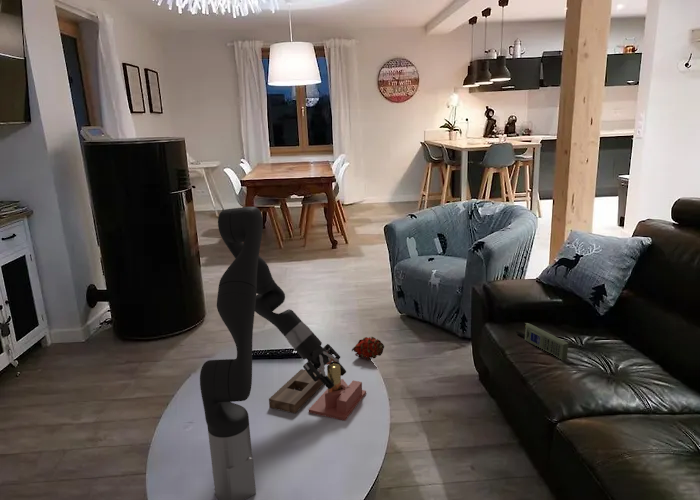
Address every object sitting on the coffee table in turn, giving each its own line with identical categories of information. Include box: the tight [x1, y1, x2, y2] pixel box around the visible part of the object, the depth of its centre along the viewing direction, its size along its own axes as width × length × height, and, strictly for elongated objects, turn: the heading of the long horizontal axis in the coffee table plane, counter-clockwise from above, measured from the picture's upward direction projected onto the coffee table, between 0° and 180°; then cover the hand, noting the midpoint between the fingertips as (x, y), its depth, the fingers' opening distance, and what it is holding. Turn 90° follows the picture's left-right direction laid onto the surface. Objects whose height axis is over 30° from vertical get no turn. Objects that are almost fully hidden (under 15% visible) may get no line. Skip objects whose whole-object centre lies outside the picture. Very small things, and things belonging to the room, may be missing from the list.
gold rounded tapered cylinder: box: [326, 364, 342, 393], centre depth 152 cm, size 4×4×11 cm
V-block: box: [308, 378, 367, 422], centre depth 153 cm, size 12×16×5 cm
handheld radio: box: [515, 322, 569, 361], centre depth 186 cm, size 7×3×25 cm
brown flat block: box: [268, 368, 324, 414], centre depth 159 cm, size 9×20×3 cm, turn 156°
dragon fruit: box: [351, 336, 385, 361], centre depth 181 cm, size 8×8×12 cm
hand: (338, 380), depth 151 cm, fingers open, 8 cm apart
